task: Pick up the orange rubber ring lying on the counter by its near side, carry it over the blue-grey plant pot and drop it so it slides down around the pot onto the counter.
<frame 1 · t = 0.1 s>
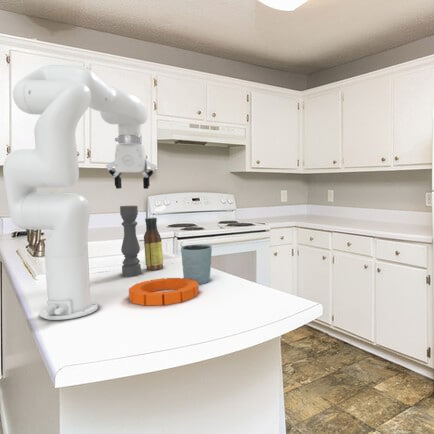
hand: (132, 188, 149), 31 cm above the counter, tool pointing down, fingers open, 9 cm apart
ring: (164, 295, 123), on the counter
blue-grey plant pot: (197, 281, 139), on the counter
candle holder: (131, 275, 148), on the counter
sauce bottle: (154, 269, 157), on the counter
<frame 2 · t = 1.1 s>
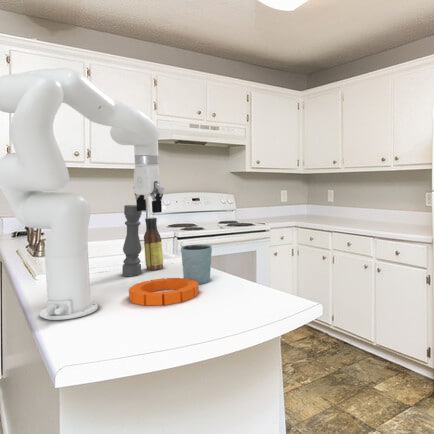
hand: (149, 211, 140), 24 cm above the counter, tool pointing down, fingers open, 9 cm apart
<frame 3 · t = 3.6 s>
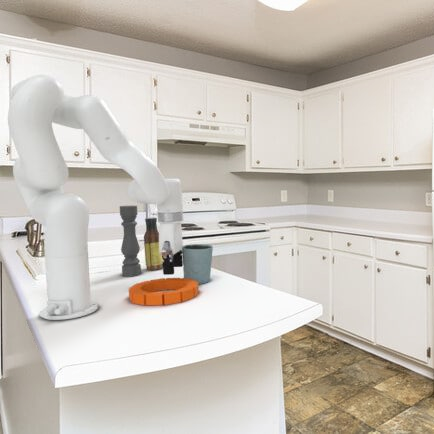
hand: (173, 270, 131), 6 cm above the counter, tool pointing down, fingers open, 9 cm apart
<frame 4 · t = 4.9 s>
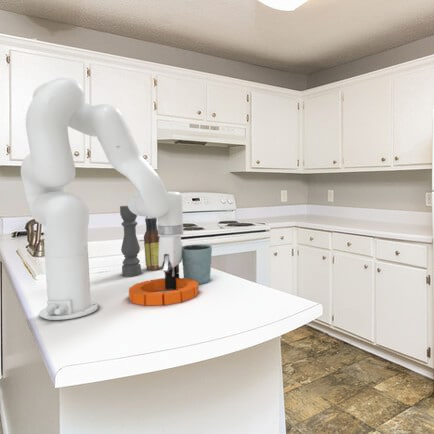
hand: (172, 286, 131), 1 cm above the counter, tool pointing down, fingers closed on ring, 3 cm apart
ring: (164, 295, 123), on the counter, touching gripper
everything else where it was.
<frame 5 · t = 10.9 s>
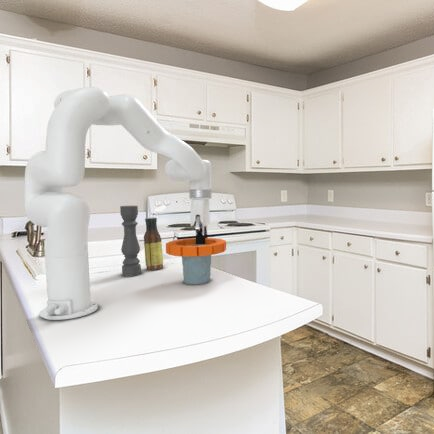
hand: (201, 245, 146), 11 cm above the counter, tool pointing down, fingers closed on ring, 3 cm apart
ring: (196, 250, 138), point 11 cm above the counter, touching gripper
blue-grey plant pot: (197, 281, 139), on the counter, touching gripper
everything else where it was.
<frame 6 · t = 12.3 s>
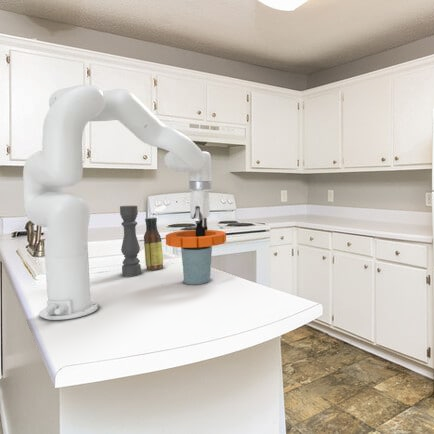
hand: (201, 237, 146), 14 cm above the counter, tool pointing down, fingers closed on ring, 2 cm apart
ring: (196, 242, 138), point 13 cm above the counter, touching gripper
blue-grey plant pot: (197, 281, 139), on the counter
everything else where it was.
when the fingers open (14 cm above the counter, at t = 19.8 s): ring drops 14 cm, on the counter.
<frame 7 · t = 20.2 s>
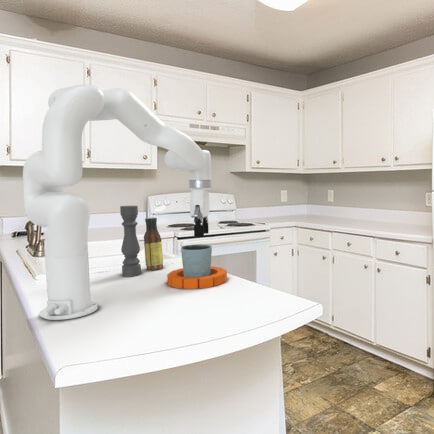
hand: (201, 234, 146), 15 cm above the counter, tool pointing down, fingers open, 7 cm apart
ring: (197, 281, 140), on the counter
everything else where it was.
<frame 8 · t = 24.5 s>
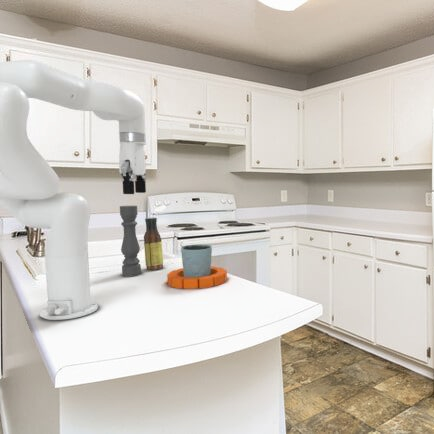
hand: (135, 193, 131), 30 cm above the counter, tool pointing down, fingers open, 9 cm apart
nothing on the counter moved.
at the end: ring 0.4 cm from the blue-grey plant pot (horizontally); ring on the counter; blue-grey plant pot tilted 0° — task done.
